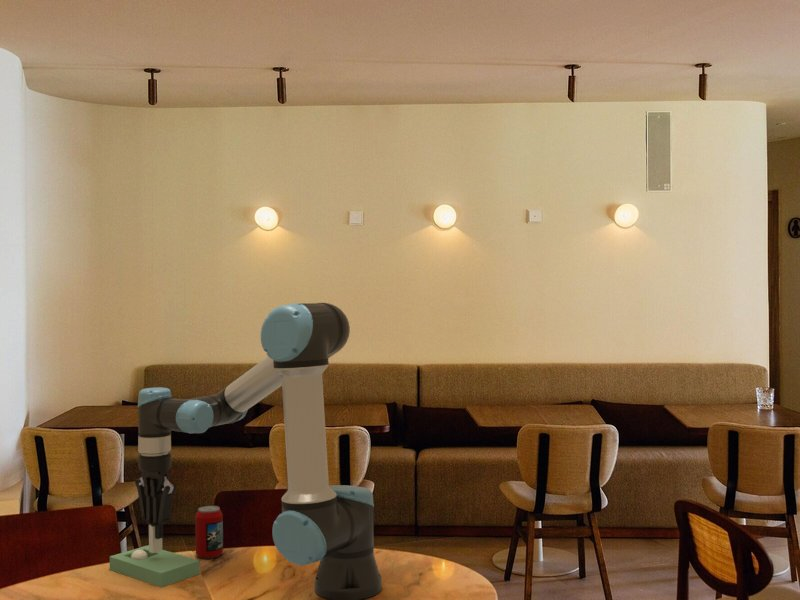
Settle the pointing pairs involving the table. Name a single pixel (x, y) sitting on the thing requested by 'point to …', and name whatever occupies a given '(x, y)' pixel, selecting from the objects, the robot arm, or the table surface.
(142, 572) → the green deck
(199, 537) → the beverage can
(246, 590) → the table surface
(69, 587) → the table surface
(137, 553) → the ball
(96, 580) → the table surface
